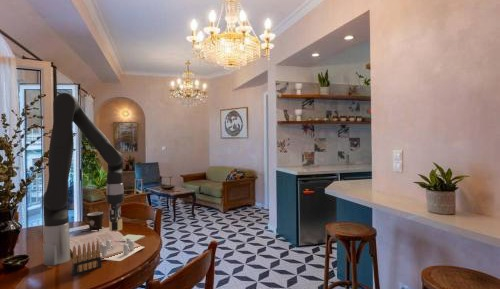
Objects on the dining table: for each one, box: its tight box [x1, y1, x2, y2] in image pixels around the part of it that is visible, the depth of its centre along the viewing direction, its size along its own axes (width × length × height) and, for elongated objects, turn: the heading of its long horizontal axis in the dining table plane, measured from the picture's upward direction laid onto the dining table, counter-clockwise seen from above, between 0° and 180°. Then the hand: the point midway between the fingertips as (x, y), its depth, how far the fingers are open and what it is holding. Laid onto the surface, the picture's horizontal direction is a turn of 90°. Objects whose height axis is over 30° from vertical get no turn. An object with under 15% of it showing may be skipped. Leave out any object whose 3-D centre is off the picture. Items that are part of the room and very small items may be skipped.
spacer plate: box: [99, 238, 145, 262], centre depth 147 cm, size 18×18×5 cm
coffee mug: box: [82, 211, 104, 231], centre depth 186 cm, size 12×9×10 cm
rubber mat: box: [121, 234, 146, 243], centre depth 166 cm, size 11×11×1 cm
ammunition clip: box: [71, 240, 103, 277], centre depth 127 cm, size 11×2×12 cm, turn 132°
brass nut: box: [108, 217, 123, 232], centre depth 146 cm, size 6×5×5 cm
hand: (115, 228), depth 146 cm, fingers closed on brass nut, 5 cm apart
